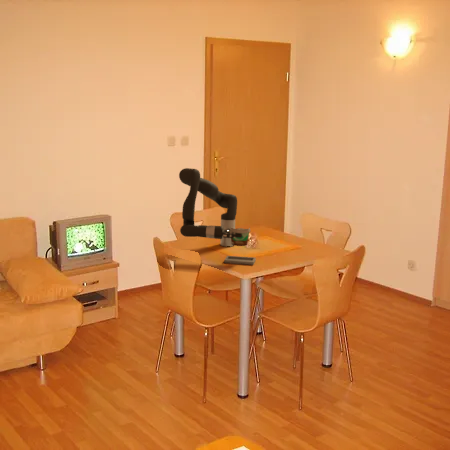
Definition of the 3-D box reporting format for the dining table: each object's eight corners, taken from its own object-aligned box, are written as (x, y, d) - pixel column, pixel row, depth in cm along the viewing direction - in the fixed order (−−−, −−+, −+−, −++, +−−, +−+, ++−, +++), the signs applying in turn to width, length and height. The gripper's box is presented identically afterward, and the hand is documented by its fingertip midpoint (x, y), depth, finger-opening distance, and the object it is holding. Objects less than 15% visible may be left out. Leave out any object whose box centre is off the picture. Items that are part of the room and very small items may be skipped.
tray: (227, 258, 365) (227, 255, 365) (255, 260, 363) (255, 257, 362) (224, 263, 356) (224, 260, 355) (253, 265, 353) (253, 262, 353)
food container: (230, 246, 353) (231, 229, 351) (228, 243, 359) (229, 227, 356) (251, 246, 355) (252, 229, 353) (249, 243, 361) (250, 227, 358)
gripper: (212, 228, 350) (241, 230, 348) (217, 223, 364) (245, 225, 361) (212, 241, 352) (240, 243, 349) (216, 235, 366) (244, 237, 363)
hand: (242, 234), depth 355 cm, fingers closed on food container, 7 cm apart
